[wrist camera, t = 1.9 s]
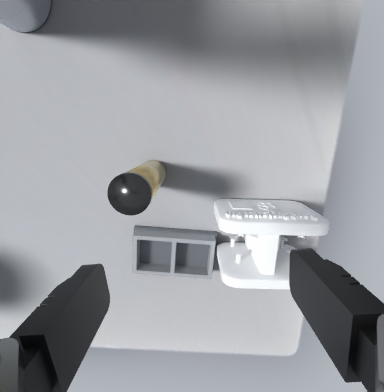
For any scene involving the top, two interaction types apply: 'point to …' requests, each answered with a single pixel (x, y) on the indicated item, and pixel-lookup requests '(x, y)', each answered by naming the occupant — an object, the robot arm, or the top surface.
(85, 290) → the robot arm
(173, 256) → the divided storage box
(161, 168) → the canister
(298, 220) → the white napkin holder
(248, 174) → the top surface
